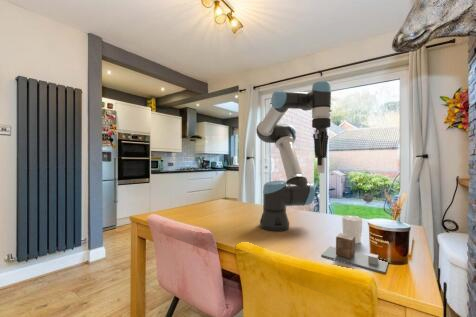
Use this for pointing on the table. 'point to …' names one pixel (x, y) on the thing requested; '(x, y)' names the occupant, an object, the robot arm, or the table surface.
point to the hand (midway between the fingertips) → (320, 172)
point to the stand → (359, 260)
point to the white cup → (352, 226)
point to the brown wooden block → (345, 245)
